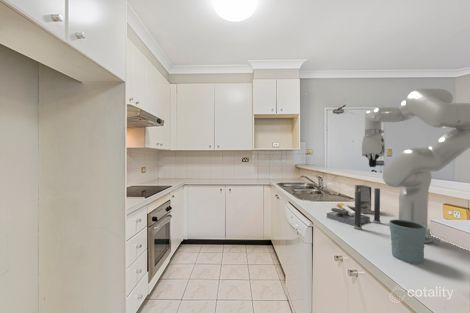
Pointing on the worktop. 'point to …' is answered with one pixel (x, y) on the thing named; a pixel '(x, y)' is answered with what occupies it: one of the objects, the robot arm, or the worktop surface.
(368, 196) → the coffee box
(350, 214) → the block
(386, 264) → the worktop surface
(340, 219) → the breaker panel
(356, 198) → the dark grey rod
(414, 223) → the teal green cup
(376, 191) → the dark grey post
